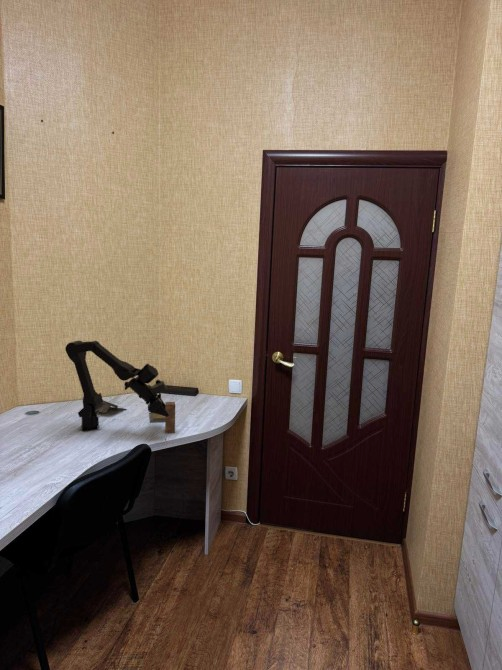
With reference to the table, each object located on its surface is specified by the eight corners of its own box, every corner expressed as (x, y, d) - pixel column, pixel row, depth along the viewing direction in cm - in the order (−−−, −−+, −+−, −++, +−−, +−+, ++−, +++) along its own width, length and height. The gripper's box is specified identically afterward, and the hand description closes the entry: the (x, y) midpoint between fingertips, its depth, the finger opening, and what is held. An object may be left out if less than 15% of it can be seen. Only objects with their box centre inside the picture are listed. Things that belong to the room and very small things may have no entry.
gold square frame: (150, 422, 210) (150, 413, 210) (149, 414, 221) (149, 406, 220) (174, 421, 213) (174, 412, 212) (172, 413, 223) (172, 405, 223)
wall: (91, 415, 229) (78, 402, 217) (100, 400, 233) (88, 387, 221) (118, 424, 224) (106, 413, 212) (127, 409, 228) (116, 396, 216)
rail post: (165, 433, 198) (166, 404, 196) (165, 430, 202) (165, 402, 200) (174, 432, 199) (175, 404, 197) (174, 429, 203) (174, 401, 201)
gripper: (156, 381, 186) (183, 406, 190) (154, 370, 204) (179, 393, 208) (136, 400, 185) (163, 425, 190) (136, 388, 203) (161, 410, 207)
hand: (167, 412), depth 199 cm, fingers open, 9 cm apart
